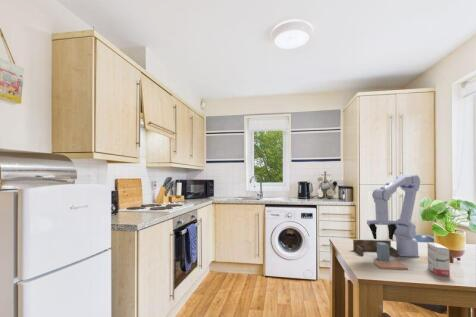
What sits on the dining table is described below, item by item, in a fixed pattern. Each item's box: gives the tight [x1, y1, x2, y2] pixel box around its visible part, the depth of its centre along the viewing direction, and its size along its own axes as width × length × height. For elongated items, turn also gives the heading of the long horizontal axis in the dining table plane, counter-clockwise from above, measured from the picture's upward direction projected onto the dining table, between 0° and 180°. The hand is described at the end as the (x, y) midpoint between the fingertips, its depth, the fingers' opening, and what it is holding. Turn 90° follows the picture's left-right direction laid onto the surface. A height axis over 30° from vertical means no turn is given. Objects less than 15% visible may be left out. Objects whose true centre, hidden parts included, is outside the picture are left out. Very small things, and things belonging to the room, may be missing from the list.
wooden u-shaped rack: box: [352, 239, 398, 258], centre depth 141 cm, size 20×10×6 cm, turn 83°
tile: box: [372, 260, 409, 271], centre depth 122 cm, size 12×8×1 cm, turn 83°
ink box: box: [427, 242, 451, 277], centre depth 115 cm, size 9×5×12 cm, turn 168°
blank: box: [376, 242, 391, 261], centre depth 131 cm, size 4×5×8 cm
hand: (382, 239), depth 132 cm, fingers open, 7 cm apart
